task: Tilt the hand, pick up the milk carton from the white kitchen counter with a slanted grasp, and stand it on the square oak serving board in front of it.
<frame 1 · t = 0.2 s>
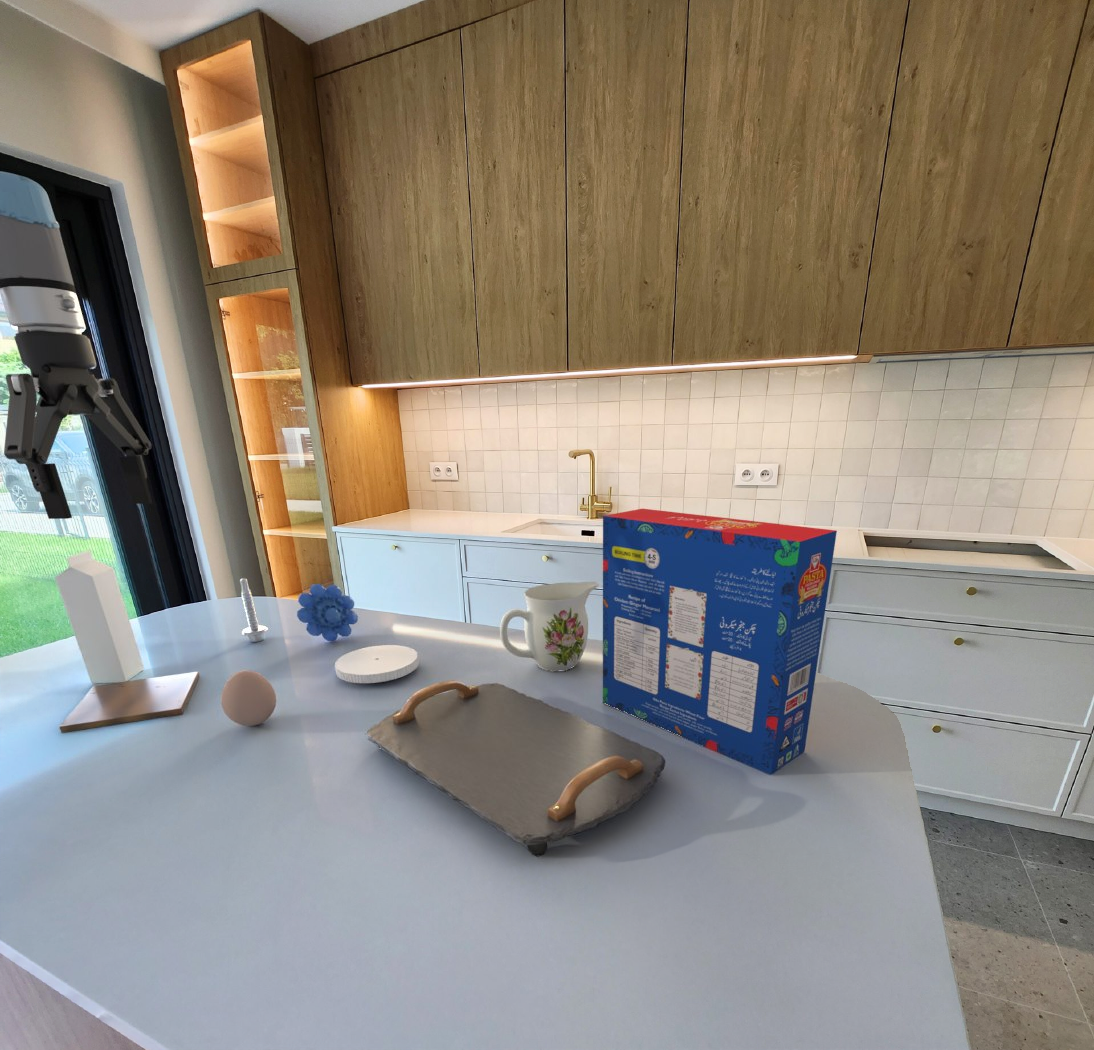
hand: (104, 510, 84), 31 cm above the countertop, tool pointing down, fingers open, 13 cm apart
serving tray: (508, 764, 79), on the countertop
pasta box: (694, 726, 87), on the countertop
board: (136, 702, 100), on the countertop
plastic lid: (378, 673, 109), on the countertop
pitcher: (552, 666, 109), on the countertop
milk: (119, 677, 111), on the countertop
screw: (257, 641, 127), on the countertop
blue flower: (334, 643, 124), on the countertop
egg: (255, 724, 92), on the countertop
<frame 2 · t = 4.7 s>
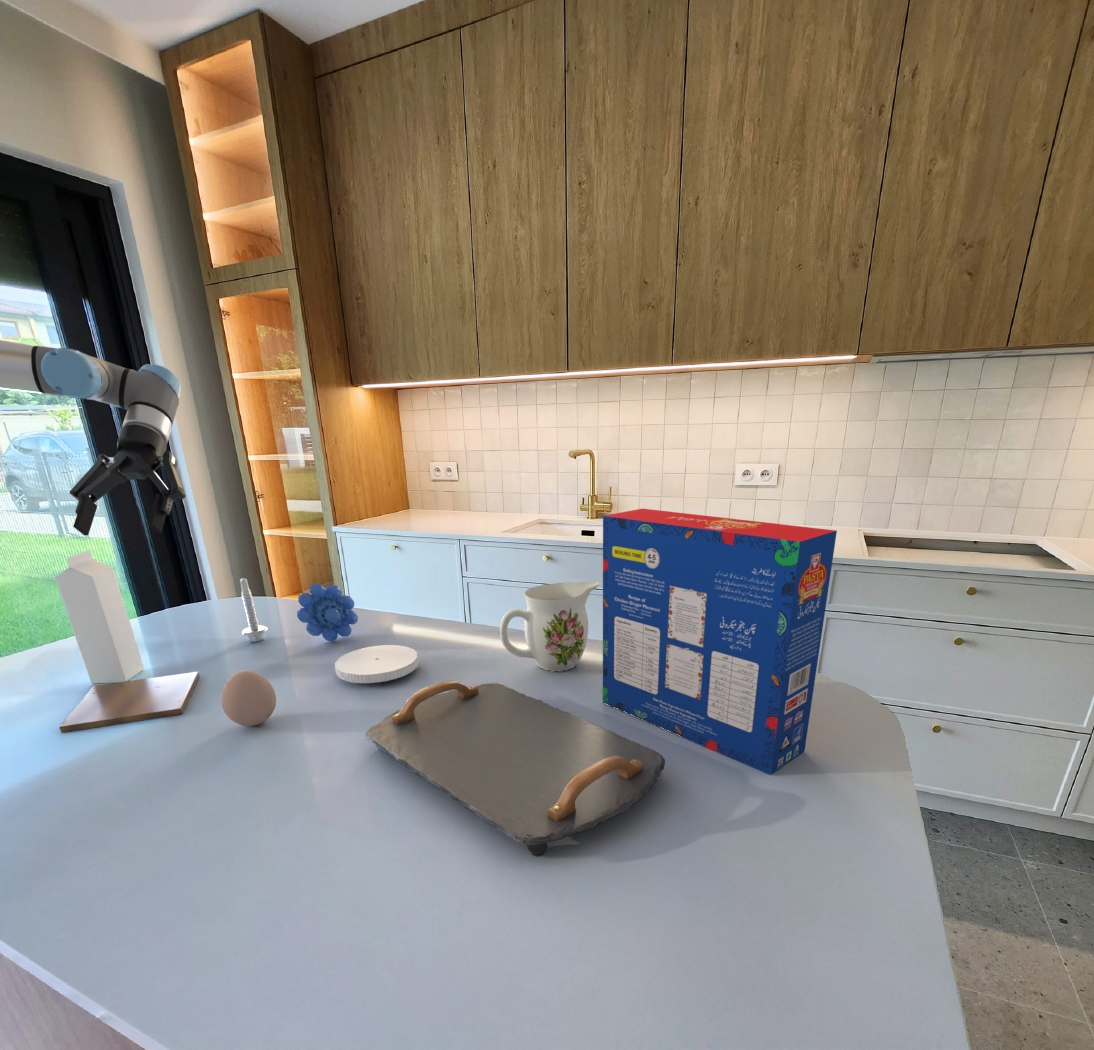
hand: (117, 529, 111), 24 cm above the countertop, tool tilted 45°, fingers open, 13 cm apart
nothing on the countertop moved.
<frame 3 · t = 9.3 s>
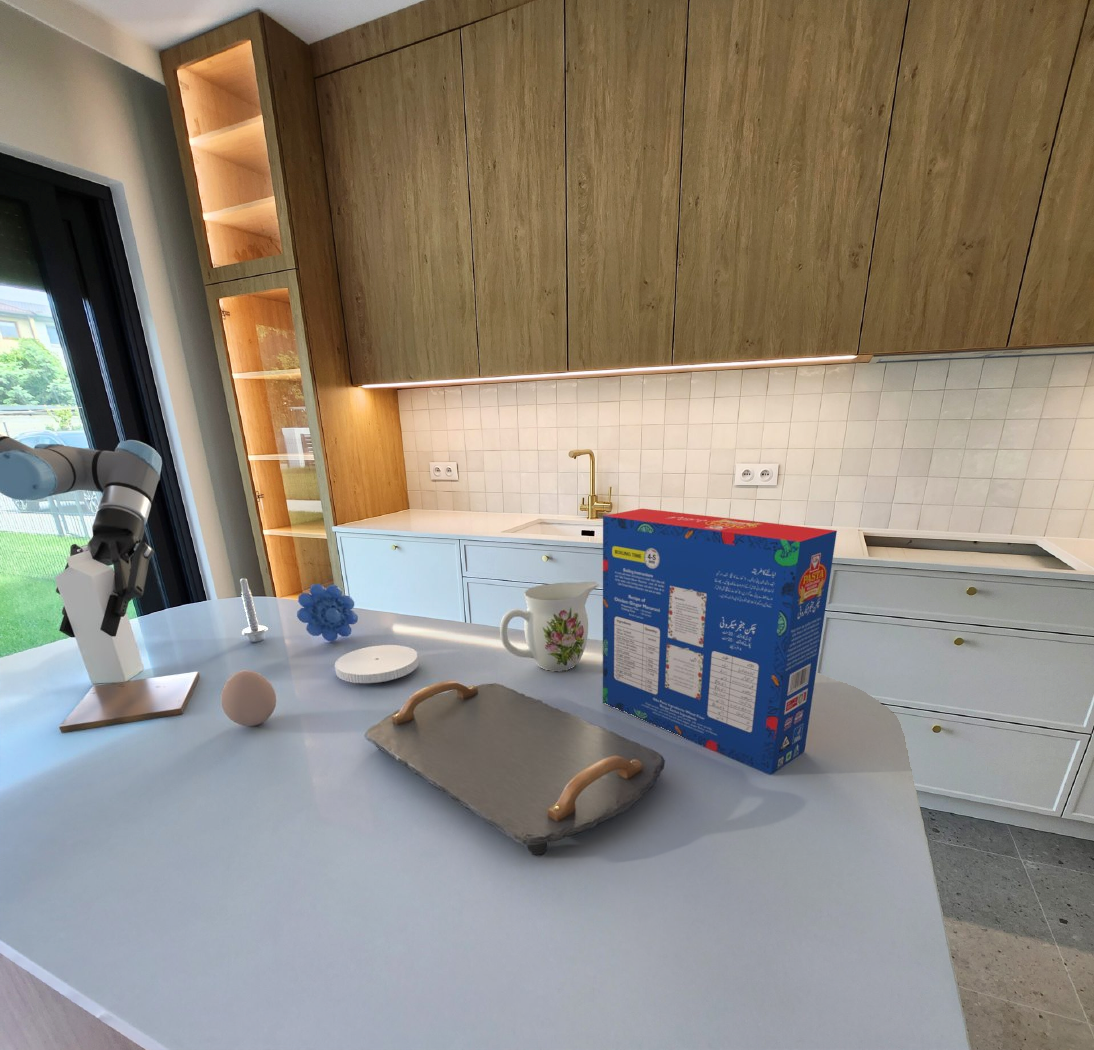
hand: (87, 633, 104), 9 cm above the countertop, tool tilted 45°, fingers closed on milk, 6 cm apart
milk: (119, 677, 111), on the countertop, touching gripper
everything else where it was.
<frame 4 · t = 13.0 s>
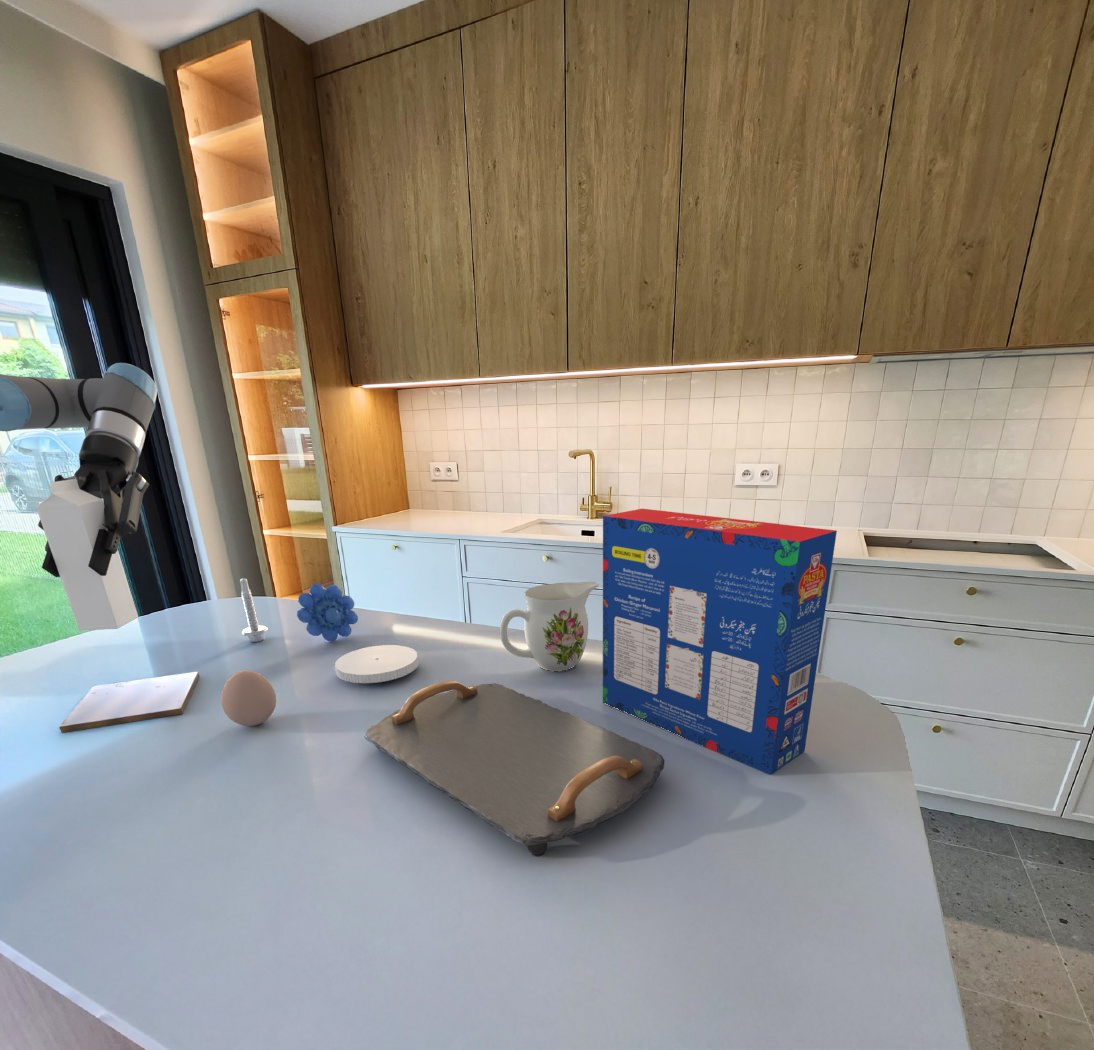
hand: (74, 571, 92), 22 cm above the countertop, tool tilted 45°, fingers closed on milk, 6 cm apart
milk: (109, 625, 99), point 12 cm above the countertop, touching gripper
everything else where it was.
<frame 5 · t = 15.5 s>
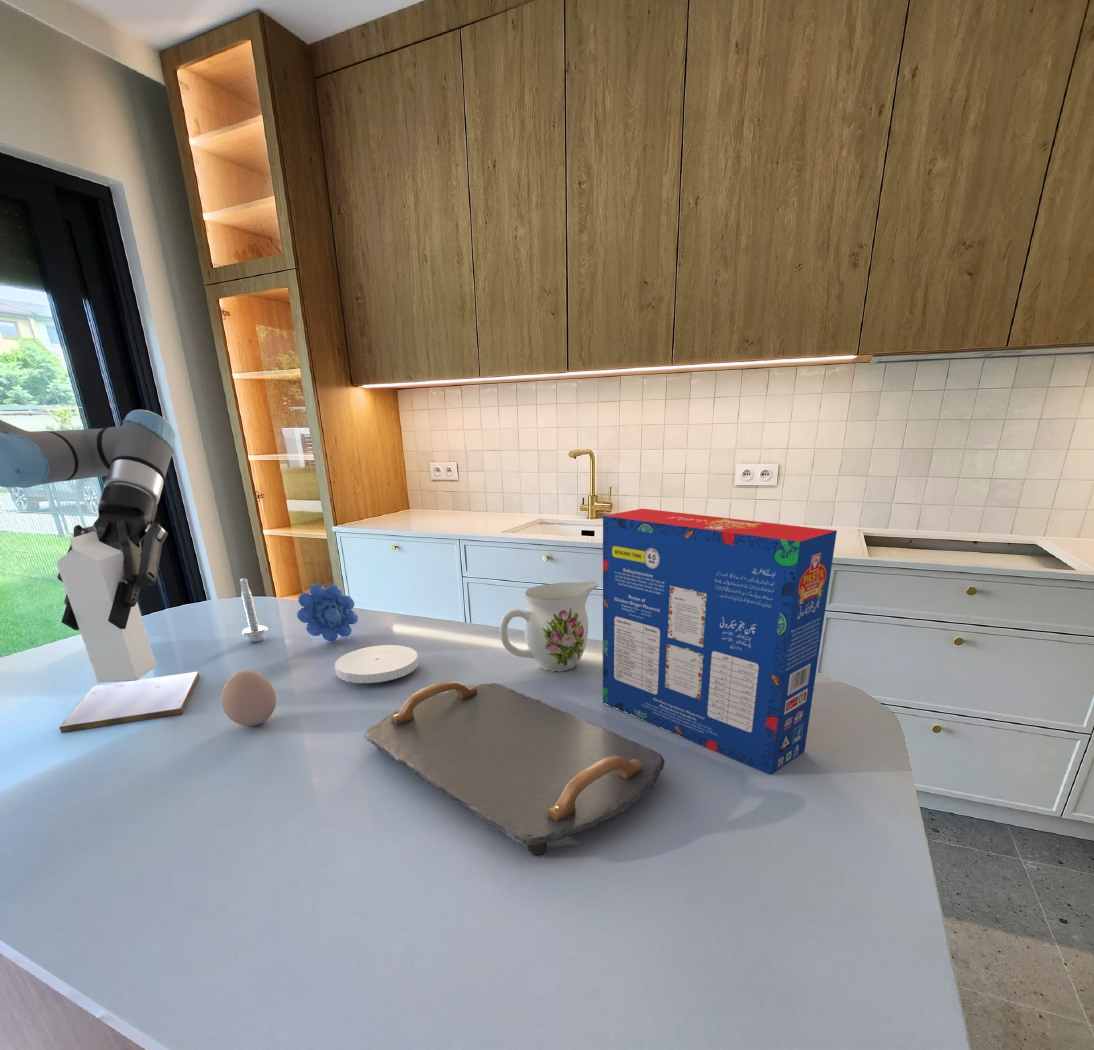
hand: (93, 625, 92), 14 cm above the countertop, tool tilted 45°, fingers closed on milk, 6 cm apart
milk: (128, 675, 99), point 5 cm above the countertop, touching gripper
everything else where it was.
when the fingers open (10 cm above the countertop, at t = 17.0 s): milk stays where it is, resting on board.
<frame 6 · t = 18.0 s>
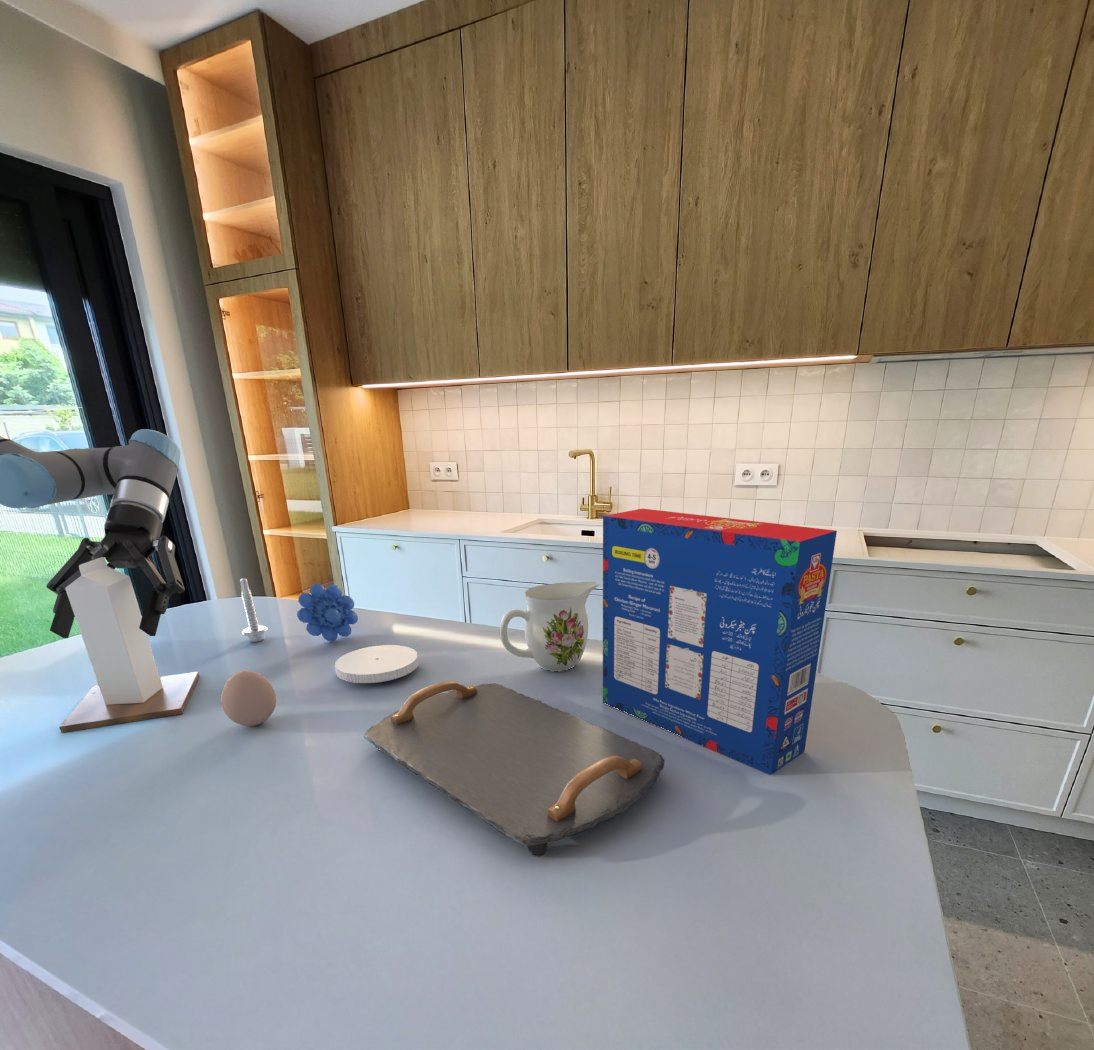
hand: (102, 633, 93), 13 cm above the countertop, tool tilted 45°, fingers open, 13 cm apart
milk: (135, 697, 100), point 1 cm above the countertop, touching board
everything else where it was.
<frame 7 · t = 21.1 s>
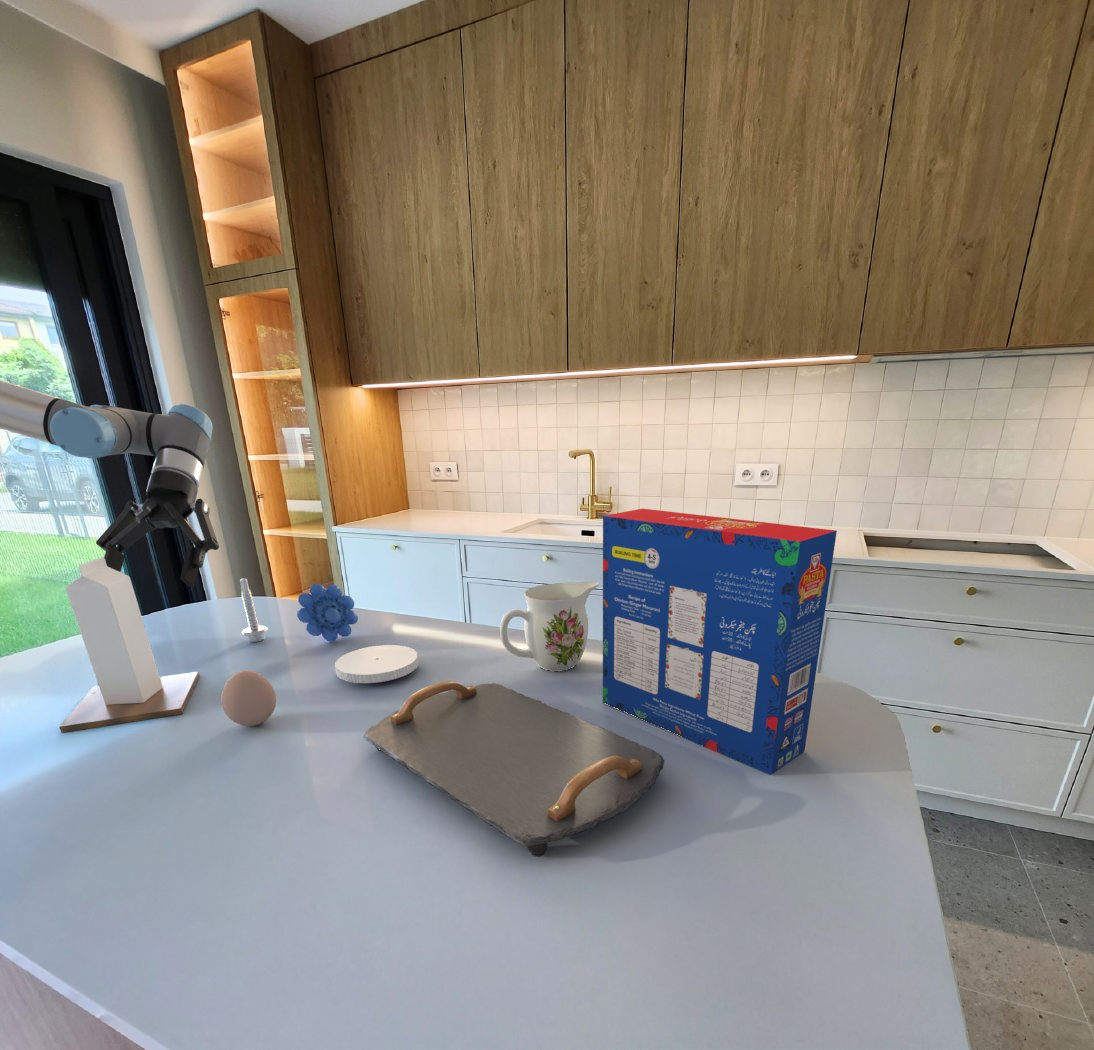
hand: (147, 584, 105), 16 cm above the countertop, tool tilted 45°, fingers open, 13 cm apart
nothing on the countertop moved.
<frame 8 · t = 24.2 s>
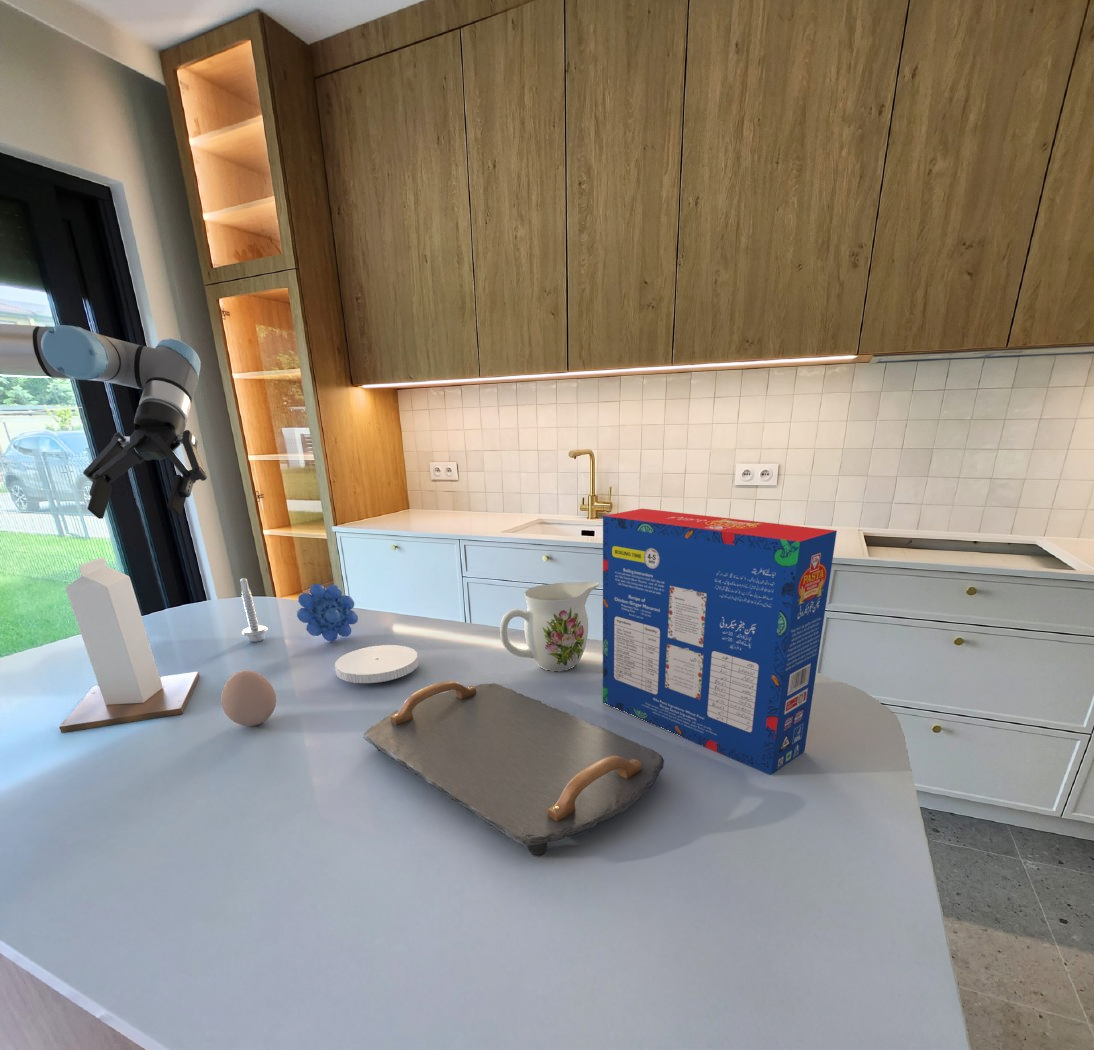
hand: (134, 512, 104), 28 cm above the countertop, tool tilted 45°, fingers open, 13 cm apart
nothing on the countertop moved.
at the end: milk inside the target area on the board (0.1 cm from its centre), point 0.8 cm above the board's base; milk tilted 0°; the gripper is holding nothing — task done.
